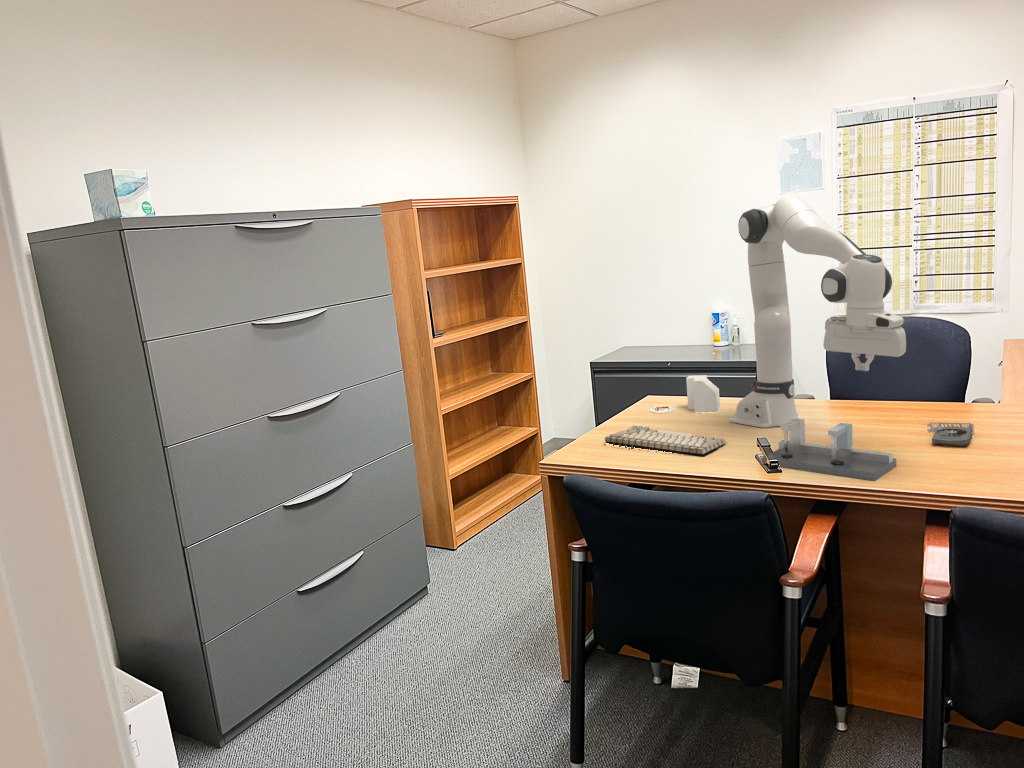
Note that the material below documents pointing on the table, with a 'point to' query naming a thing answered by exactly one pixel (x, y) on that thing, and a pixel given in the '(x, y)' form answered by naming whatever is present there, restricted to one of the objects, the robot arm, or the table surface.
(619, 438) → the mechanical keyboard
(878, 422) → the table surface
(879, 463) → the grey fixture base
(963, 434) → the graphics card
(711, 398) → the grey chamfered block
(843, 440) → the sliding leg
